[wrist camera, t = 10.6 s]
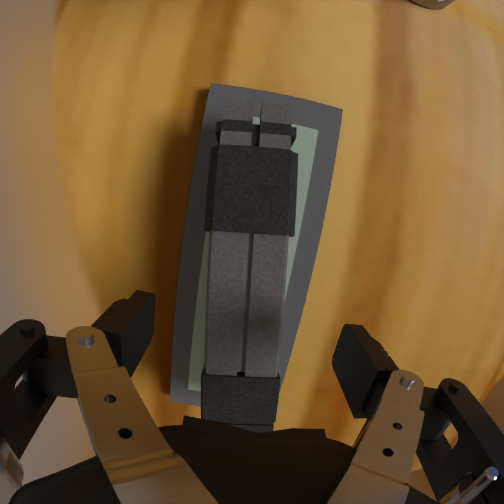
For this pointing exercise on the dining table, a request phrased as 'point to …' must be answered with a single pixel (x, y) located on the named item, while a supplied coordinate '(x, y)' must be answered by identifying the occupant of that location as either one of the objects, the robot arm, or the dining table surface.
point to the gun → (247, 262)
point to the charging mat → (300, 247)
